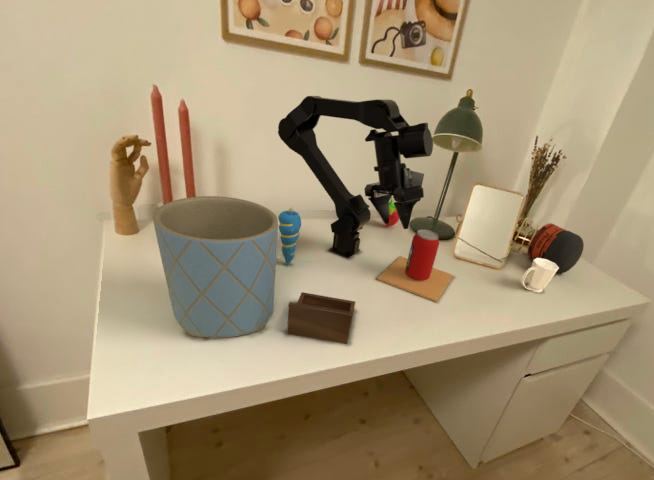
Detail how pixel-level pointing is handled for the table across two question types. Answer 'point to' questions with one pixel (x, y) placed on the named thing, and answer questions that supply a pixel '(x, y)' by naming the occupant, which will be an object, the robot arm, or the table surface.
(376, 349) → the table surface
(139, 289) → the table surface
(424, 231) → the beverage can
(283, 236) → the ornament
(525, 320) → the table surface
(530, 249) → the oil filter
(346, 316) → the open wooden box
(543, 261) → the cup
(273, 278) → the planter
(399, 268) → the placemat
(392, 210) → the red strawberry
